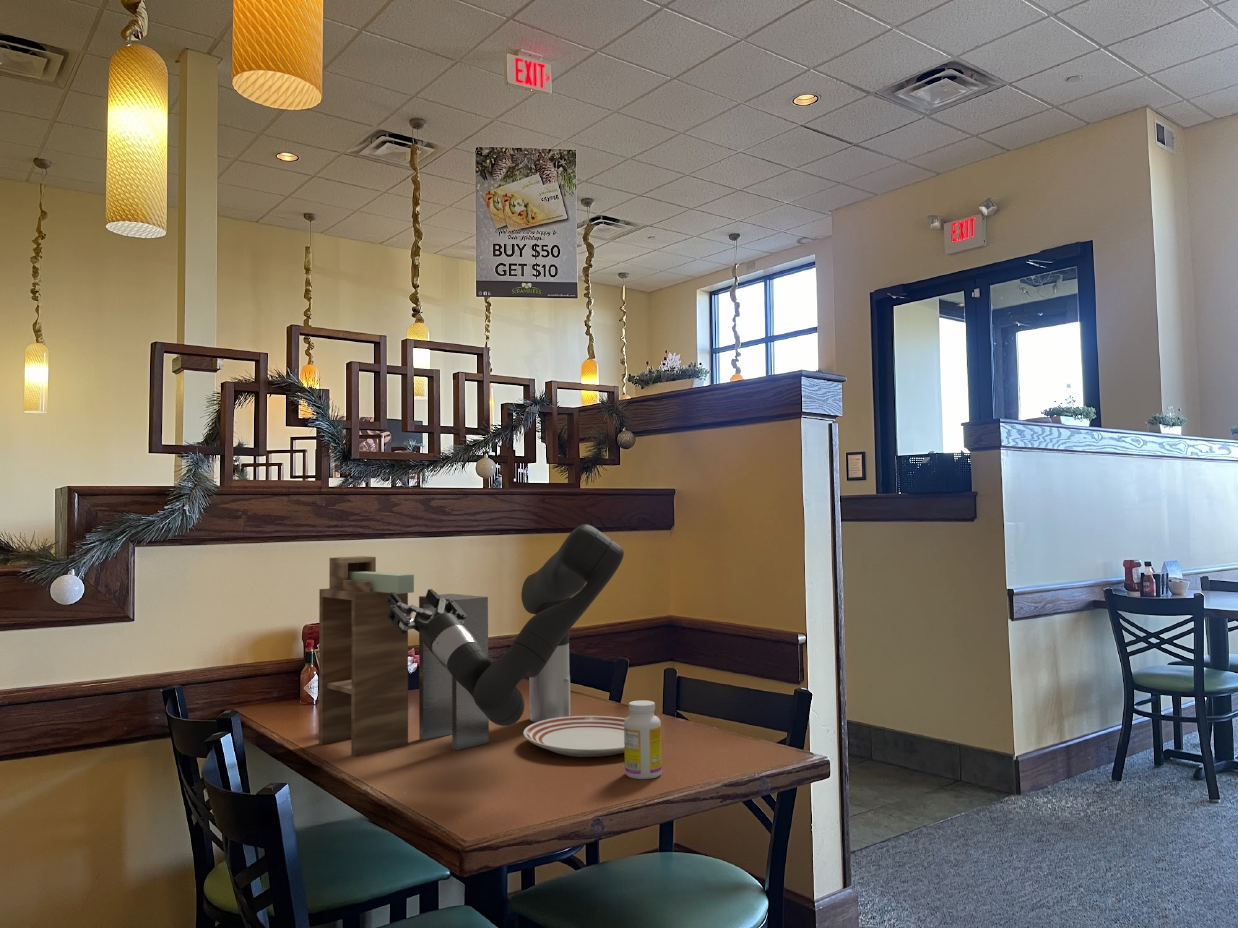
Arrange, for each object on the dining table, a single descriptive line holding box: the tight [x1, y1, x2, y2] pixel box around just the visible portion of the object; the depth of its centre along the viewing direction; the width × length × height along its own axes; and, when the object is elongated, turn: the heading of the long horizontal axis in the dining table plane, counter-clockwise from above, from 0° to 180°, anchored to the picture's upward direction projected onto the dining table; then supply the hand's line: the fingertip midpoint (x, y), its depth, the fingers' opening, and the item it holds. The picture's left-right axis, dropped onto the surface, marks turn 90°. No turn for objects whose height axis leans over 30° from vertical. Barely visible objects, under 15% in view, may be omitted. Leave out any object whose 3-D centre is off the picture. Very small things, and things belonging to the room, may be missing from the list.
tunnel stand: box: [318, 555, 409, 757], centre depth 188 cm, size 15×12×38 cm
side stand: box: [418, 593, 490, 751], centre depth 189 cm, size 14×8×30 cm, turn 45°
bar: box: [348, 571, 415, 594], centre depth 185 cm, size 22×4×4 cm, turn 45°
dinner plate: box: [522, 715, 627, 758], centre depth 184 cm, size 28×27×3 cm
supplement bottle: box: [624, 699, 663, 780], centre depth 163 cm, size 7×7×13 cm
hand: (409, 594), depth 176 cm, fingers open, 8 cm apart
